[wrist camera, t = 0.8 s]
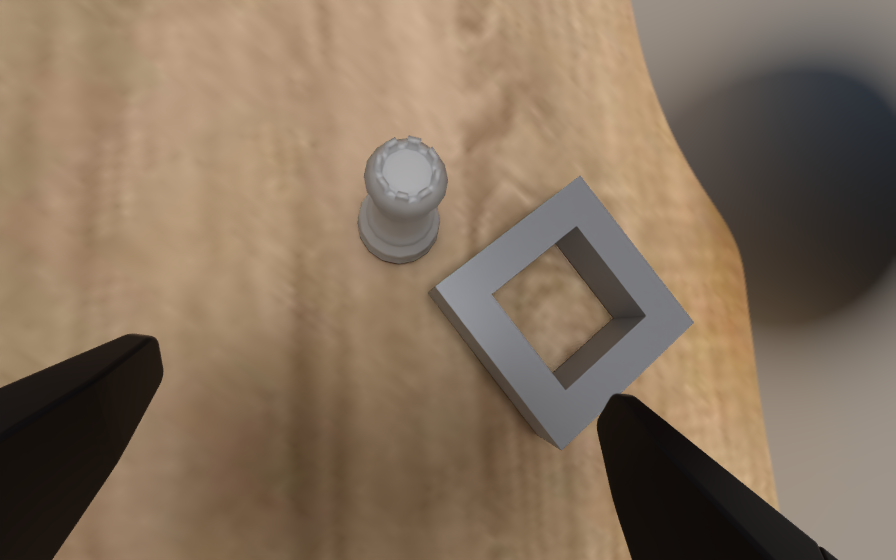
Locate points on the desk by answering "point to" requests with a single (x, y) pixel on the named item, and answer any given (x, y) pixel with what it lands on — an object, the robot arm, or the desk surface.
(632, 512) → the robot arm
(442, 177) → the rook chess piece
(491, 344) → the hollow square block
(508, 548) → the desk surface
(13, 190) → the desk surface
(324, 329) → the desk surface
